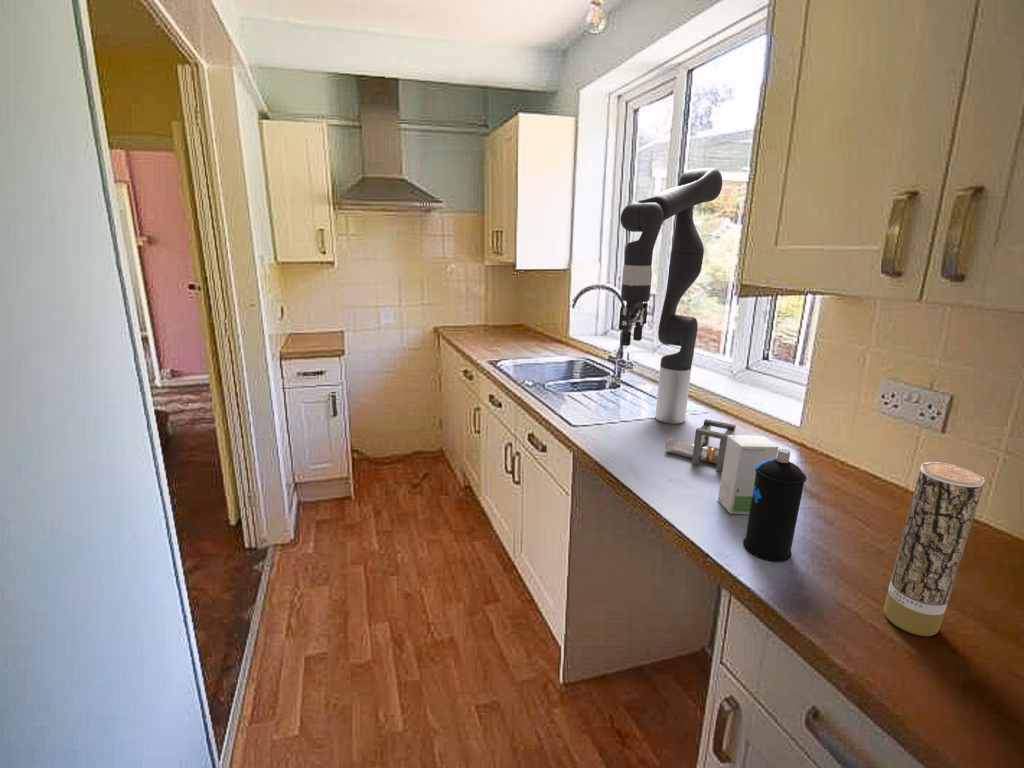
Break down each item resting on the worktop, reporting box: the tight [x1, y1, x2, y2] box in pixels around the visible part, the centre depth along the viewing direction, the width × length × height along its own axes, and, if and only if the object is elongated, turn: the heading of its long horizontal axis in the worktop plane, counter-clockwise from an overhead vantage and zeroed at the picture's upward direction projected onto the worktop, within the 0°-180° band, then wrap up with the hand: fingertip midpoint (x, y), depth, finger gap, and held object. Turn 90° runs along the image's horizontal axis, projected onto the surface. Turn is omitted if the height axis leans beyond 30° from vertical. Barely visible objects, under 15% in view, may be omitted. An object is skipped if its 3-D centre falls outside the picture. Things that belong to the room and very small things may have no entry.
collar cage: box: [691, 418, 737, 473], centre depth 130 cm, size 10×8×10 cm
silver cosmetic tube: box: [665, 437, 719, 465], centre depth 133 cm, size 16×4×4 cm, turn 56°
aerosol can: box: [742, 448, 807, 563], centre depth 92 cm, size 8×8×20 cm
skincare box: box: [717, 434, 779, 515], centre depth 107 cm, size 8×7×16 cm
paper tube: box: [883, 461, 985, 637], centre depth 74 cm, size 7×7×25 cm
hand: (631, 342), depth 138 cm, fingers open, 8 cm apart
